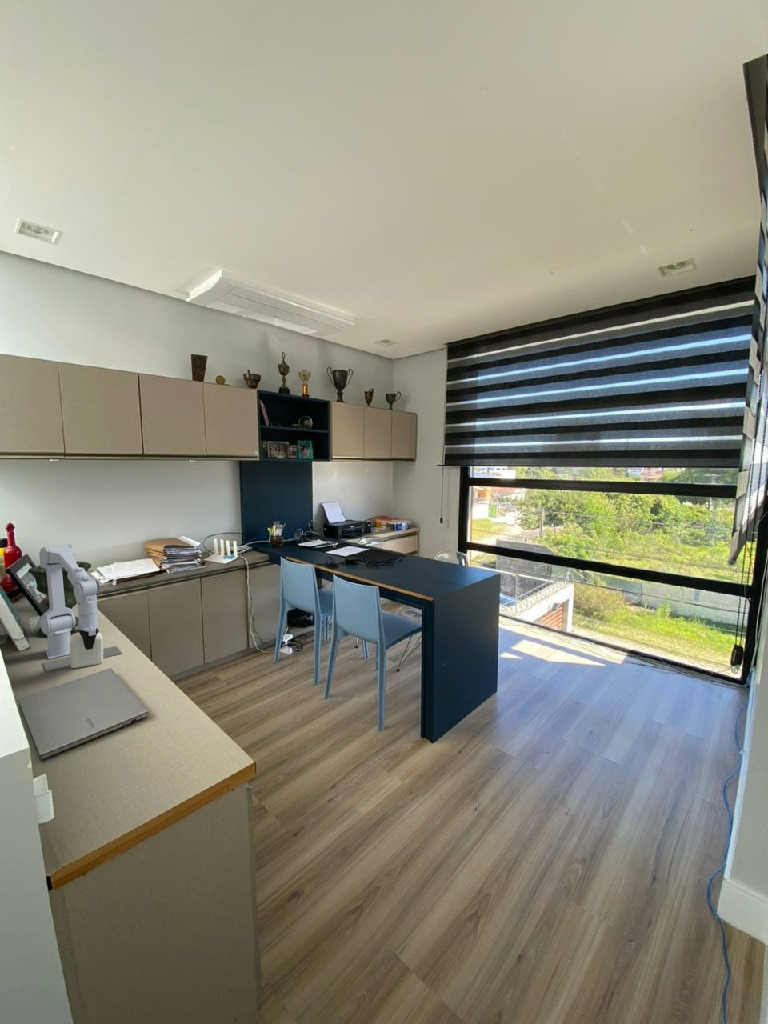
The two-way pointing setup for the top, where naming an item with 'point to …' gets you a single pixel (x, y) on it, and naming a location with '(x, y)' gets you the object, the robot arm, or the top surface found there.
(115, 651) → the mat
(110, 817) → the top surface
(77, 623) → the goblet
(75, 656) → the photo printer
